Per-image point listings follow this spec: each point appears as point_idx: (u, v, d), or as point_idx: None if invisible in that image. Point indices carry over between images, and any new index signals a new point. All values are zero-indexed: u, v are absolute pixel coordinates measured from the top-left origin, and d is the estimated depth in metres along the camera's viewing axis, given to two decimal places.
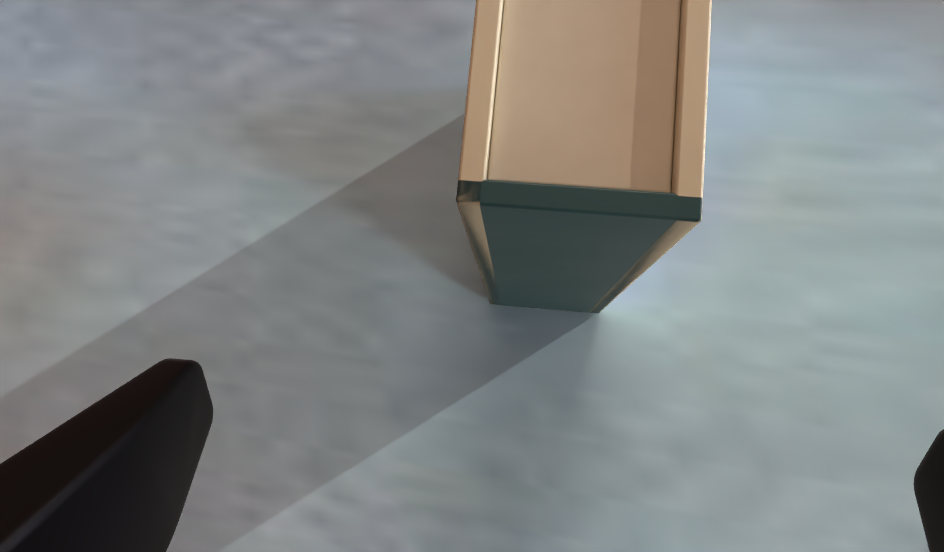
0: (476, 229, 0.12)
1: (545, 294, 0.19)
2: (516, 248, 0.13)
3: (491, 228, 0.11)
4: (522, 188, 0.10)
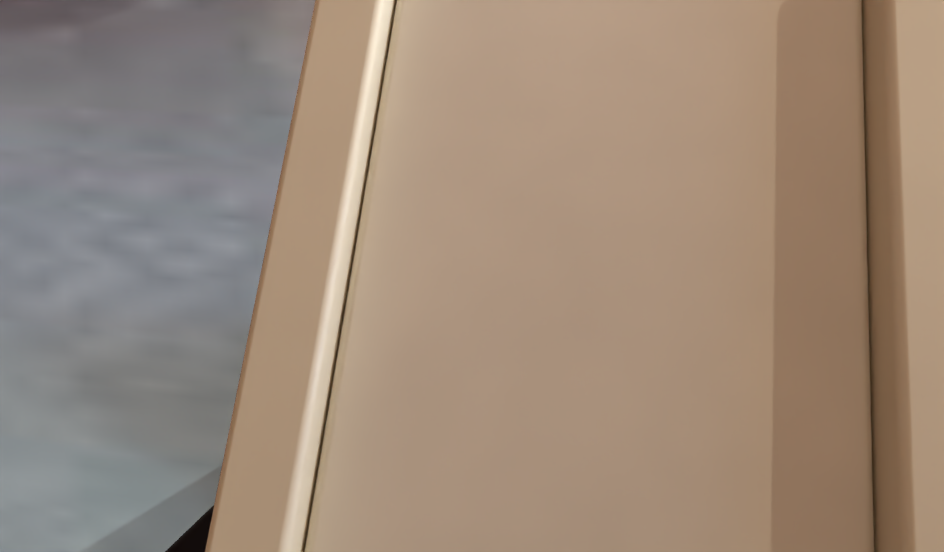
0: None
1: None
2: None
3: None
4: None
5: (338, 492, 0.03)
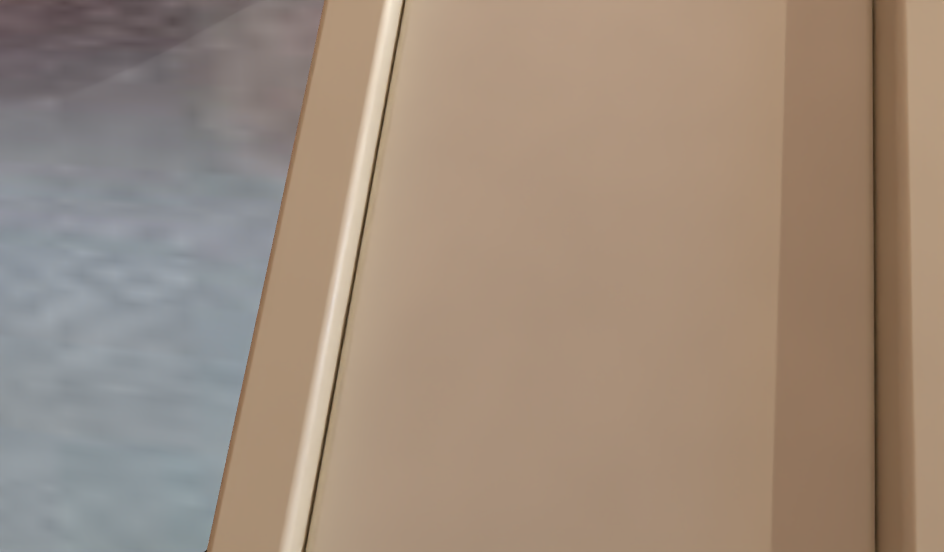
0: None
1: None
2: None
3: None
4: None
5: (344, 460, 0.03)
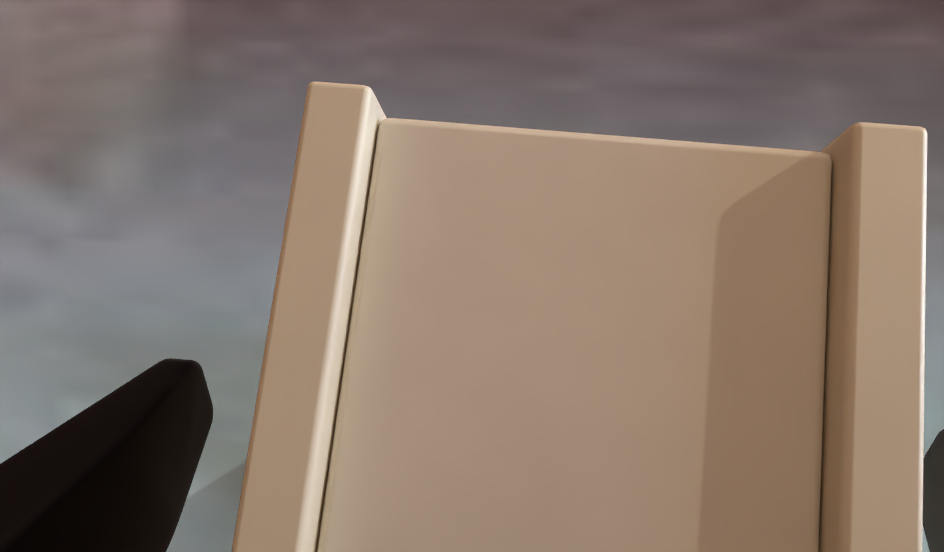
0: None
1: None
2: None
3: None
4: None
5: None
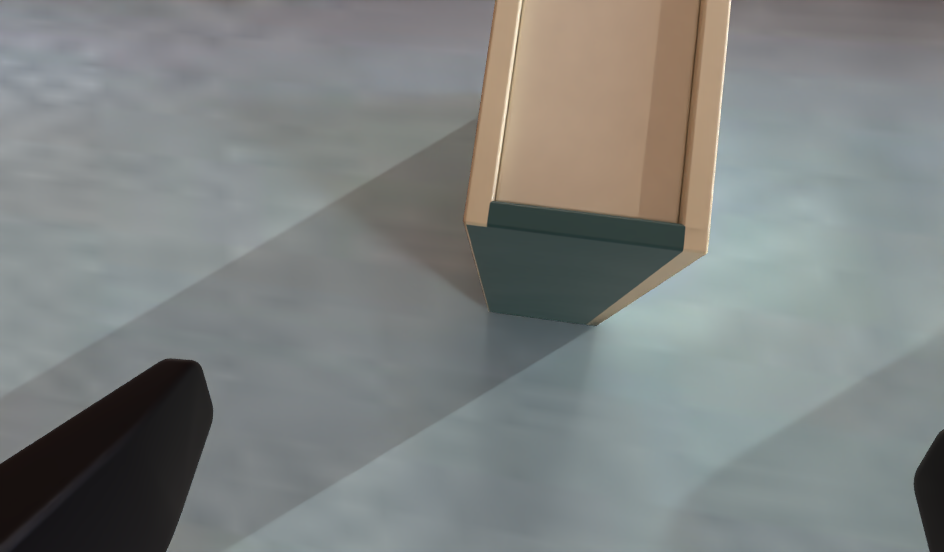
0: (481, 247, 0.12)
1: (544, 306, 0.19)
2: (519, 265, 0.13)
3: (496, 247, 0.11)
4: (529, 211, 0.10)
5: None
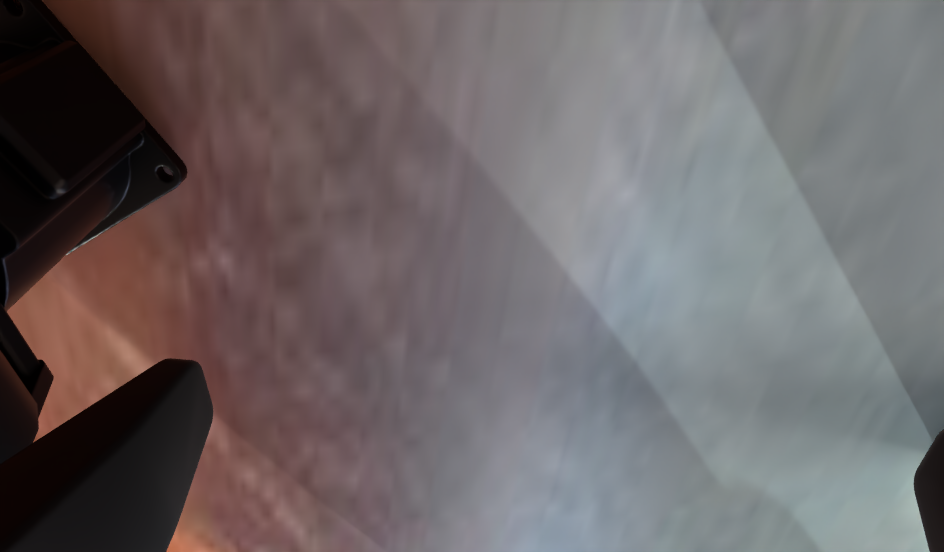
0: None
1: None
2: None
3: None
4: None
5: None
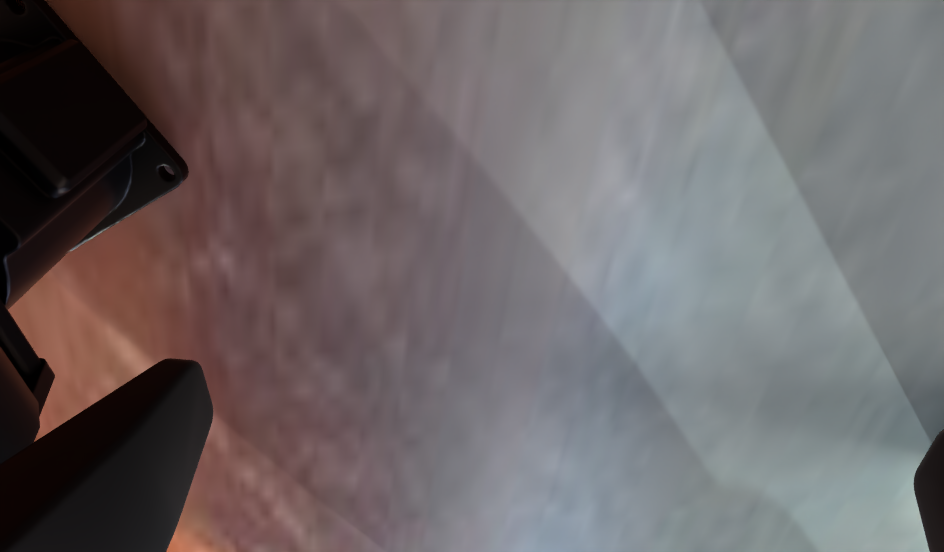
0: None
1: None
2: None
3: None
4: None
5: None
